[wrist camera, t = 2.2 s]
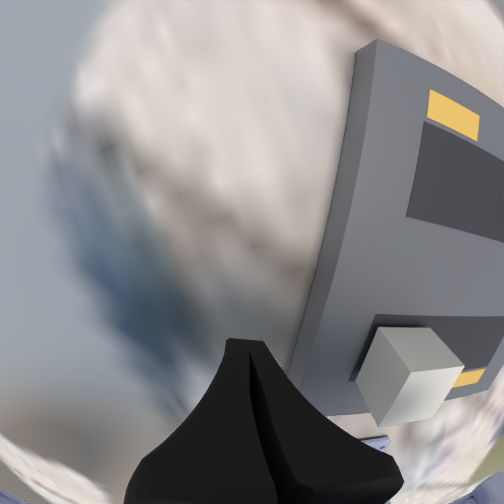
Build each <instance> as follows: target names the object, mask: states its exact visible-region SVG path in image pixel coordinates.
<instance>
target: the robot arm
mask: <svg viewBox="0 0 504 504" xmlns="http://www.w3.org/2000/svg"><path fill="white" fill-rule="evenodd" d="M389 443H390V439H389V437H383V438H377V439H370V440H363V441H360V440H358V439H357V438H355V437H353V436H351V435H350V434H348V433H347V432H345V431H344V430H342V429H341V428H340V427H338V426H337V425H335V424H334V423H333V422H331V421H330V420H329V419H328V418H326V417H325V416H324V415H323V414H322V413H320V412H319V411H318V410H317V409H316V408H315V407H314V406H313V405H312V404H311V403H310V402H309V401H308V400H307V399H306V398H305V397H304V396H303V395H302V394H301V393H300V392H299V390H298V389H297V388H296V387H295V386H294V385H293V383H292V382H291V381H290V380H289V378H288V377H287V376H286V374H285V373H284V372H283V370H282V369H281V367H280V366H279V365H278V363H277V362H276V360H275V359H274V357H273V356H272V354H271V352H270V351H269V349H268V348H267V346H266V344H265V343H264V342H263V341H257V340H245V339H235V338H229V339H227V340H226V346H225V353H224V356H223V359H222V362H221V364H220V366H219V369H218V371H217V373H216V375H215V377H214V379H213V381H212V382H211V384H210V386H209V388H208V390H207V391H206V393H205V394H204V396H203V397H202V399H201V400H200V402H199V403H198V405H197V406H196V407H195V409H194V410H193V411H192V412H191V414H190V415H189V416H188V417H187V418H186V420H185V421H184V422H183V423H182V424H181V425H180V426H179V427H178V428H177V429H176V430H175V431H174V432H173V433H172V434H171V435H170V436H169V437H168V438H167V439H166V440H165V441H164V442H163V443H162V444H160V445H159V446H158V447H157V448H155V449H154V450H153V451H152V452H150V453H149V454H148V455H147V456H145V457H144V458H143V459H142V460H141V462H140V463H139V465H138V467H137V468H136V470H135V472H134V473H133V475H132V477H131V479H130V482H129V484H128V487H127V489H126V494H125V499H124V504H391V503H390V499H391V498H392V497H393V496H394V495H395V494H396V493H397V492H398V491H399V490H400V489H401V488H402V486H403V483H404V480H403V477H402V475H401V472H400V470H399V468H398V466H397V464H396V462H395V460H394V458H393V456H391V455H388V454H386V453H384V452H383V451H384V450H385V448H386V447H387V446H388V445H389ZM0 504H30V503H28V502H26V501H24V500H22V499H20V498H18V497H16V496H14V495H12V494H10V493H8V492H6V491H4V490H3V489H1V488H0ZM449 504H504V472H503V471H499V472H498V473H496V474H494V475H493V476H491V477H489V478H488V479H486V480H485V481H483V482H482V483H481V484H479V485H478V486H477V487H476V488H475V489H474V490H473V491H472V492H471V493H469V494H467V495H465V496H463V497H461V498H459V499H457V500H455V501H453V502H451V503H449Z"/></svg>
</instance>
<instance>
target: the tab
mask: <svg viewBox="0 0 504 504" xmlns="http://www.w3.org/2000/svg"><path fill="white" fill-rule="evenodd" d="M464 366H465V365H464V364H463V363H462V362H461V361H460V360H459V359H458V358H457V356H456V355H455V354H454V353H453V352H452V351H451V350H450V349H449V348H448V347H447V345H446V344H445V343H444V342H443V341H442V340H441V339H440V338H439V337H438V336H437V335H436V334H435V333H434V331H433V330H432V329H431V328H399V327H378V329H377V332H376V334H375V337H374V339H373V342H372V344H371V346H370V349H369V351H368V353H367V356H366V358H365V360H364V363H363V365H362V367H361V369H360V371H359V374H358V376H357V378H356V380H355V381H356V383H357V385H358V387H359V389H360V391H361V393H362V395H363V397H364V399H365V401H366V403H367V406H368V408H369V410H370V412H371V414H372V416H373V418H374V420H375V422H376V424H377V427H385V426H391V425H397V424H403V423H408V422H413V421H418V420H423V419H428V418H432V417H433V415H434V414H435V412H436V411H437V409H438V408H439V407H440V405H441V404H442V402H443V401H444V399H445V397H446V396H447V394H448V393H449V391H450V390H451V388H452V386H453V385H454V383H455V382H456V380H457V378H458V377H459V375H460V373H461V371H462V370H463V368H464Z"/></svg>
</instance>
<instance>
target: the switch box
mask: <svg viewBox="0 0 504 504" xmlns="http://www.w3.org/2000/svg"><path fill="white" fill-rule="evenodd" d="M378 327H399V328H431V329H432V330H433V331H434V333H435V334H436V335H437V336H438V337H439V338H440V339H441V340H442V341H443V342H444V343H445V344H446V345H447V347H448V348H449V349H450V350H451V351H452V352H453V353H454V354H455V355H456V356H457V358H458V359H459V360H460V361H461V362H462V363H463V364H464V365H465V366H464V368H463V370H462V371H461V373H460V375H459V377H458V378H457V380H456V382H455V383H454V385H453V386H452V388H451V390H450V391H449V393H448V394H447V396H446V397H445V399H444V401H445V400H450V399H454V398H459V397H463V396H467V395H471V394H474V393H478V392H482V391H485V390H488V388H489V387H490V385H491V384H492V382H493V381H494V379H495V377H496V376H497V374H498V372H499V371H500V369H501V367H502V366H503V364H504V108H503V107H502V106H501V105H499V104H498V103H496V102H495V101H494V100H492V99H491V98H489V97H488V96H486V95H485V94H483V93H482V92H480V91H479V90H477V89H476V88H474V87H472V86H471V85H469V84H468V83H466V82H464V81H463V80H461V79H459V78H458V77H456V76H454V75H452V74H451V73H449V72H447V71H445V70H443V69H442V68H440V67H438V66H436V65H434V64H432V63H430V62H428V61H426V60H424V59H422V58H420V57H418V56H416V55H414V54H412V53H410V52H407V51H405V50H403V49H401V48H398V47H396V46H394V45H391V44H389V43H386V42H384V41H382V40H379V39H376V40H374V41H373V42H371V43H369V44H368V45H366V46H365V47H363V48H362V49H360V50H358V51H357V52H356V60H355V68H354V76H353V83H352V90H351V97H350V104H349V110H348V117H347V123H346V129H345V135H344V141H343V147H342V152H341V158H340V163H339V168H338V173H337V179H336V184H335V189H334V194H333V198H332V203H331V208H330V213H329V217H328V222H327V226H326V231H325V235H324V239H323V244H322V248H321V252H320V256H319V260H318V265H317V269H316V273H315V277H314V281H313V284H312V288H311V292H310V296H309V300H308V303H307V307H306V311H305V315H304V318H303V322H302V325H301V329H300V332H299V336H298V339H297V343H296V346H295V350H294V353H293V356H292V360H291V363H290V366H289V369H288V373H287V377H288V378H289V380H290V381H291V382H292V383H293V385H294V386H295V387H296V388H297V389H298V390H299V392H300V393H301V394H302V395H303V396H304V397H305V398H306V399H307V400H308V401H309V402H310V403H311V404H312V405H313V406H314V407H315V408H316V409H317V410H318V411H319V412H320V413H322V414H323V415H324V416H335V415H350V414H361V413H371V412H370V410H369V408H368V406H367V403H366V401H365V399H364V397H363V395H362V393H361V391H360V389H359V387H358V385H357V383H356V381H355V380H356V378H357V376H358V374H359V371H360V369H361V367H362V365H363V363H364V360H365V358H366V356H367V353H368V351H369V349H370V346H371V344H372V342H373V339H374V337H375V334H376V332H377V329H378Z"/></svg>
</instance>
